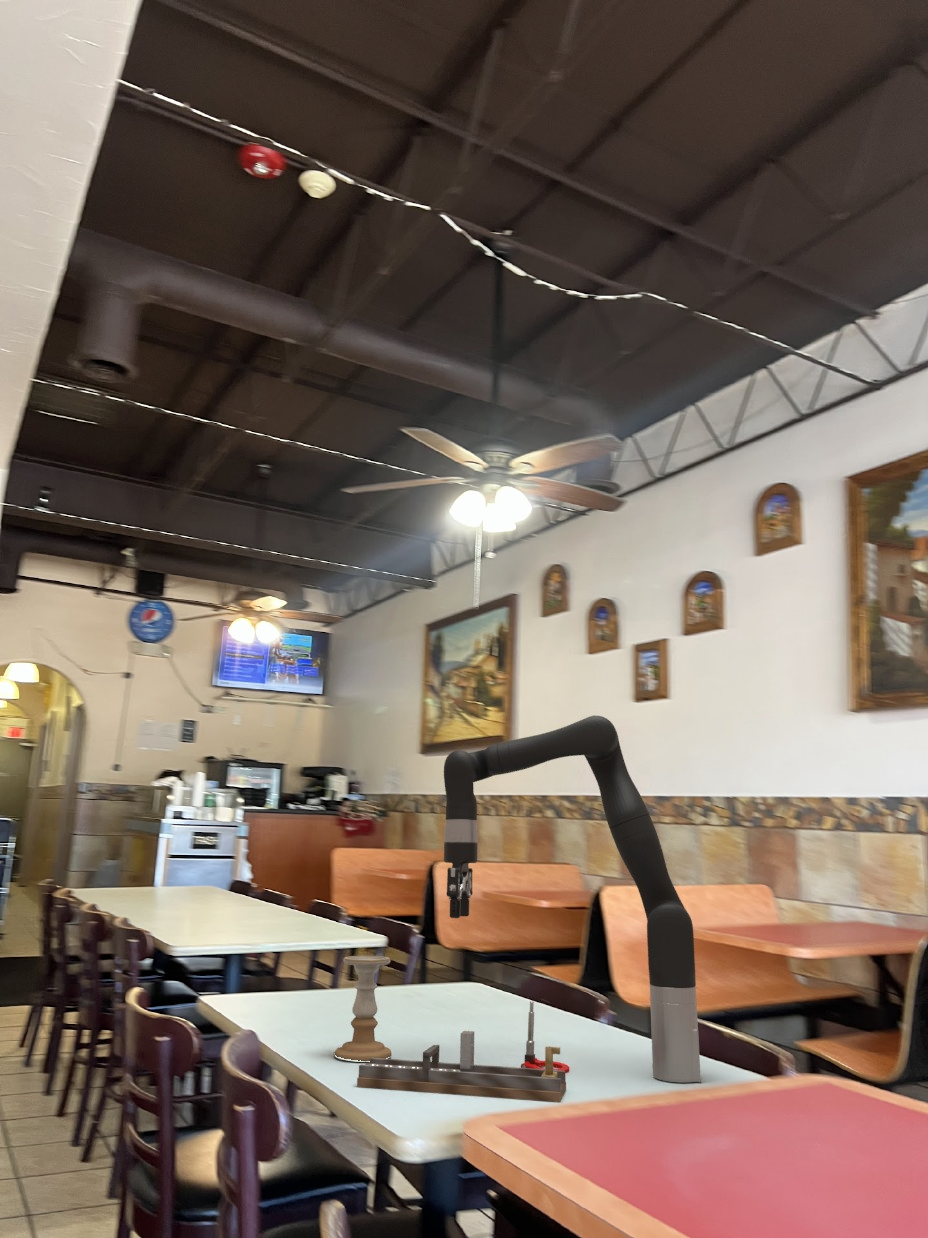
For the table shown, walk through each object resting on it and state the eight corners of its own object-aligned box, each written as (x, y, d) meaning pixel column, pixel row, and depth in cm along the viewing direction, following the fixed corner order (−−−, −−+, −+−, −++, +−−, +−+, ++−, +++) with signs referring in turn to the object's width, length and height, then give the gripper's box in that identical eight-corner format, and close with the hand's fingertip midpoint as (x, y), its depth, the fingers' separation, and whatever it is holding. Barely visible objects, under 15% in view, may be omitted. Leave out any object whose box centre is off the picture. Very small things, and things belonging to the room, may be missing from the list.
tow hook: (574, 1071, 185) (533, 1064, 189) (576, 1004, 188) (535, 998, 192) (561, 1079, 177) (518, 1072, 181) (563, 1009, 181) (521, 1003, 184)
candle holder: (402, 1056, 194) (406, 957, 199) (366, 1066, 184) (370, 962, 189) (359, 1049, 200) (363, 954, 206) (322, 1058, 191) (327, 958, 196)
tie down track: (566, 1090, 166) (565, 1043, 168) (560, 1102, 157) (559, 1053, 160) (372, 1076, 174) (374, 1032, 176) (356, 1087, 166) (358, 1040, 168)
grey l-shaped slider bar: (473, 1077, 167) (474, 1031, 169) (470, 1081, 164) (470, 1034, 167) (365, 1070, 172) (367, 1025, 174) (360, 1073, 169) (362, 1027, 171)
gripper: (470, 840, 192) (469, 919, 188) (483, 842, 205) (483, 916, 201) (436, 839, 194) (434, 918, 189) (452, 842, 207) (450, 915, 203)
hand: (459, 917), depth 195 cm, fingers open, 8 cm apart
